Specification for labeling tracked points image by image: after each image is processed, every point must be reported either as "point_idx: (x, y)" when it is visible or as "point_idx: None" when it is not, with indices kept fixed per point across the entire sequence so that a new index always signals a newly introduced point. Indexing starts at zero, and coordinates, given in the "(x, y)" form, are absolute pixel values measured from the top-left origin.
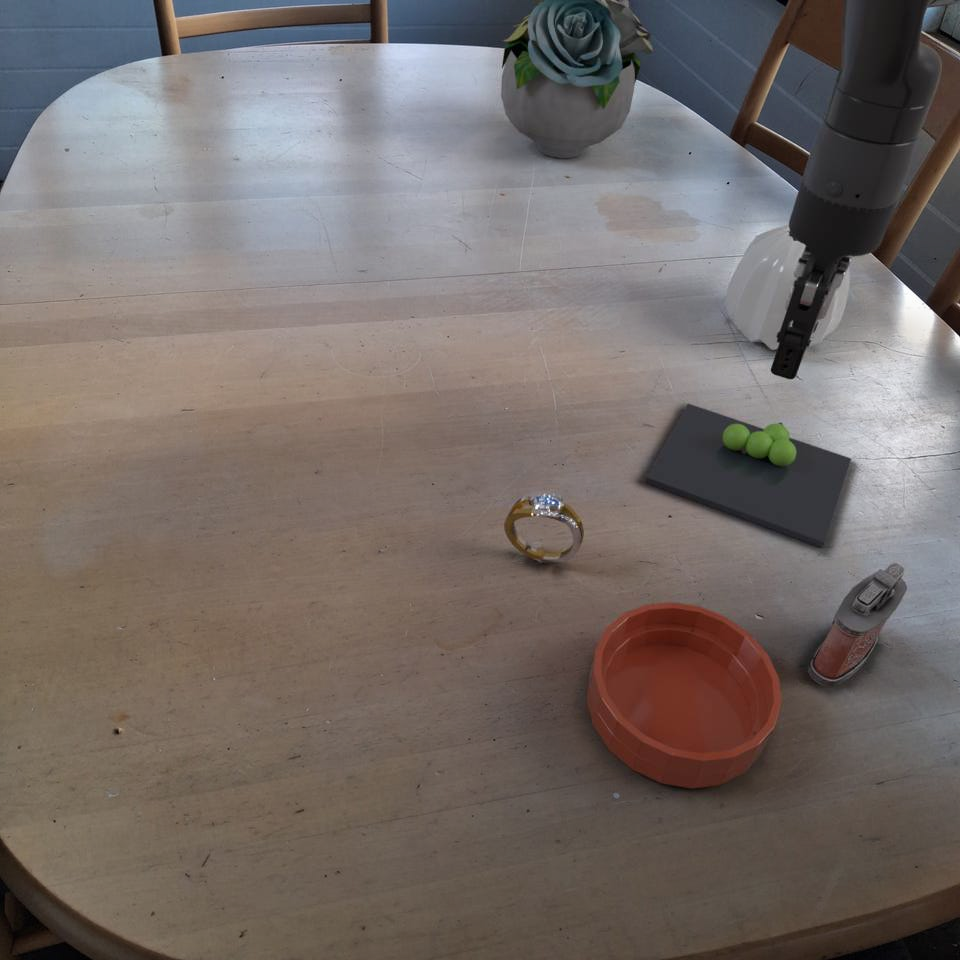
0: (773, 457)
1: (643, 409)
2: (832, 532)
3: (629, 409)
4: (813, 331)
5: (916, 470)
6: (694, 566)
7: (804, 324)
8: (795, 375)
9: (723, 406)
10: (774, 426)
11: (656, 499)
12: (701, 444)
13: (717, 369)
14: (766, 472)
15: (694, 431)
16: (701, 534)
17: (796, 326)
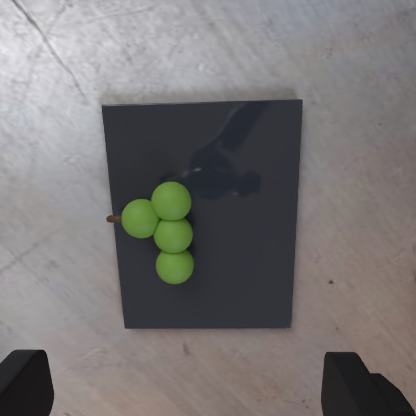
0: (189, 209)
1: (159, 362)
2: (261, 95)
3: (169, 375)
4: (38, 354)
5: (54, 5)
6: (401, 234)
7: (34, 397)
8: (359, 359)
9: (92, 286)
10: (139, 230)
11: (309, 303)
12: (195, 292)
13: (21, 313)
14: (203, 206)
15: (175, 306)
16: (344, 242)
17: (47, 401)
